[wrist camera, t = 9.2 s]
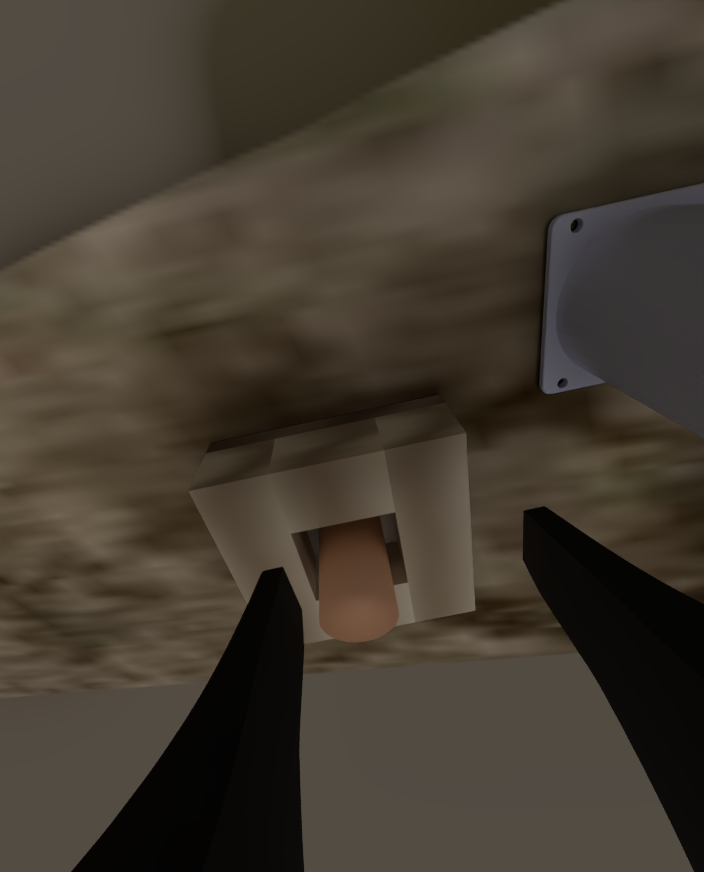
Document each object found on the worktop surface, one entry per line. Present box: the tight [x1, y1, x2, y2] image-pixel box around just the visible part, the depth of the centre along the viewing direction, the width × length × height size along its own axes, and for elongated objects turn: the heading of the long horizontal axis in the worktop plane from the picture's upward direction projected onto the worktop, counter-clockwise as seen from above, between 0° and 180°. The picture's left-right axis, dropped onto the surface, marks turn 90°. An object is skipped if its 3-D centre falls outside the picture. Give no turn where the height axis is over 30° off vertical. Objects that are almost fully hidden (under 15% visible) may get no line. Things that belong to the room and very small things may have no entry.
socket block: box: [189, 395, 475, 644], centre depth 21 cm, size 12×12×4 cm
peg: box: [319, 516, 399, 642], centre depth 19 cm, size 4×4×6 cm
